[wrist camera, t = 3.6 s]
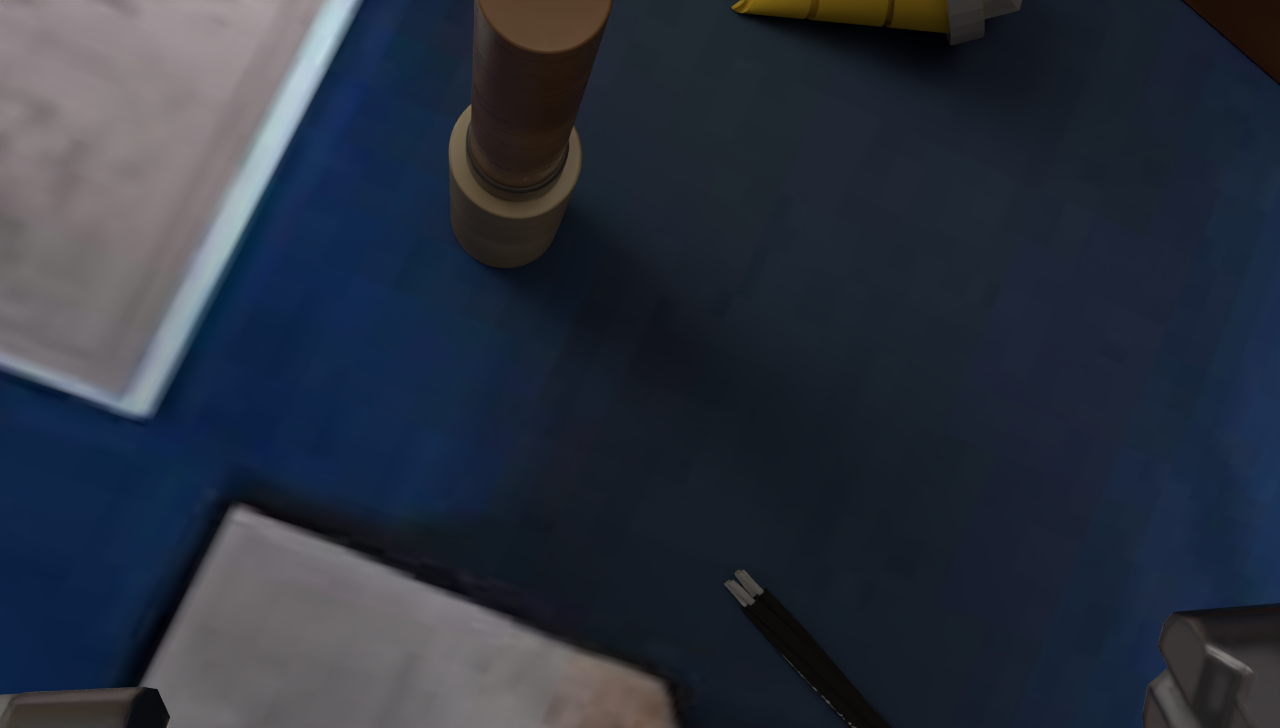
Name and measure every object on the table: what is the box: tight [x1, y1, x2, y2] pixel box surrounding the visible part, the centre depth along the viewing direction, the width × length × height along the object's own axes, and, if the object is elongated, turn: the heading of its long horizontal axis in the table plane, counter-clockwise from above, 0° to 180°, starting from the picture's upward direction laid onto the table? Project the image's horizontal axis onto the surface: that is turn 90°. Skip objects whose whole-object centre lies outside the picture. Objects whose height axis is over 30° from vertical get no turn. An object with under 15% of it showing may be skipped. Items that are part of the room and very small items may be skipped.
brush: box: [449, 0, 613, 268], centre depth 28 cm, size 3×3×17 cm
